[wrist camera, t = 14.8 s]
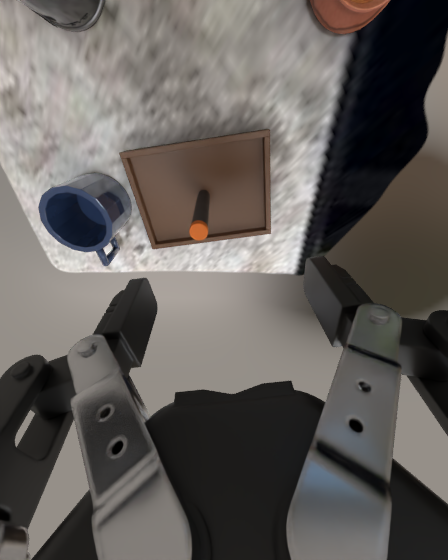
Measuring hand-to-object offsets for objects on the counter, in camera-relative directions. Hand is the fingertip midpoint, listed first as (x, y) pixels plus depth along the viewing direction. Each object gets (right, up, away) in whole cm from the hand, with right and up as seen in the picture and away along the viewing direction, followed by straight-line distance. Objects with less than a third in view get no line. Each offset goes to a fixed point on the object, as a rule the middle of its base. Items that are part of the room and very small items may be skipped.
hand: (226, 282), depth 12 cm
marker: (-4, +14, +26) cm, 30 cm away
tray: (-4, +15, +26) cm, 30 cm away
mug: (-20, +12, +28) cm, 36 cm away
